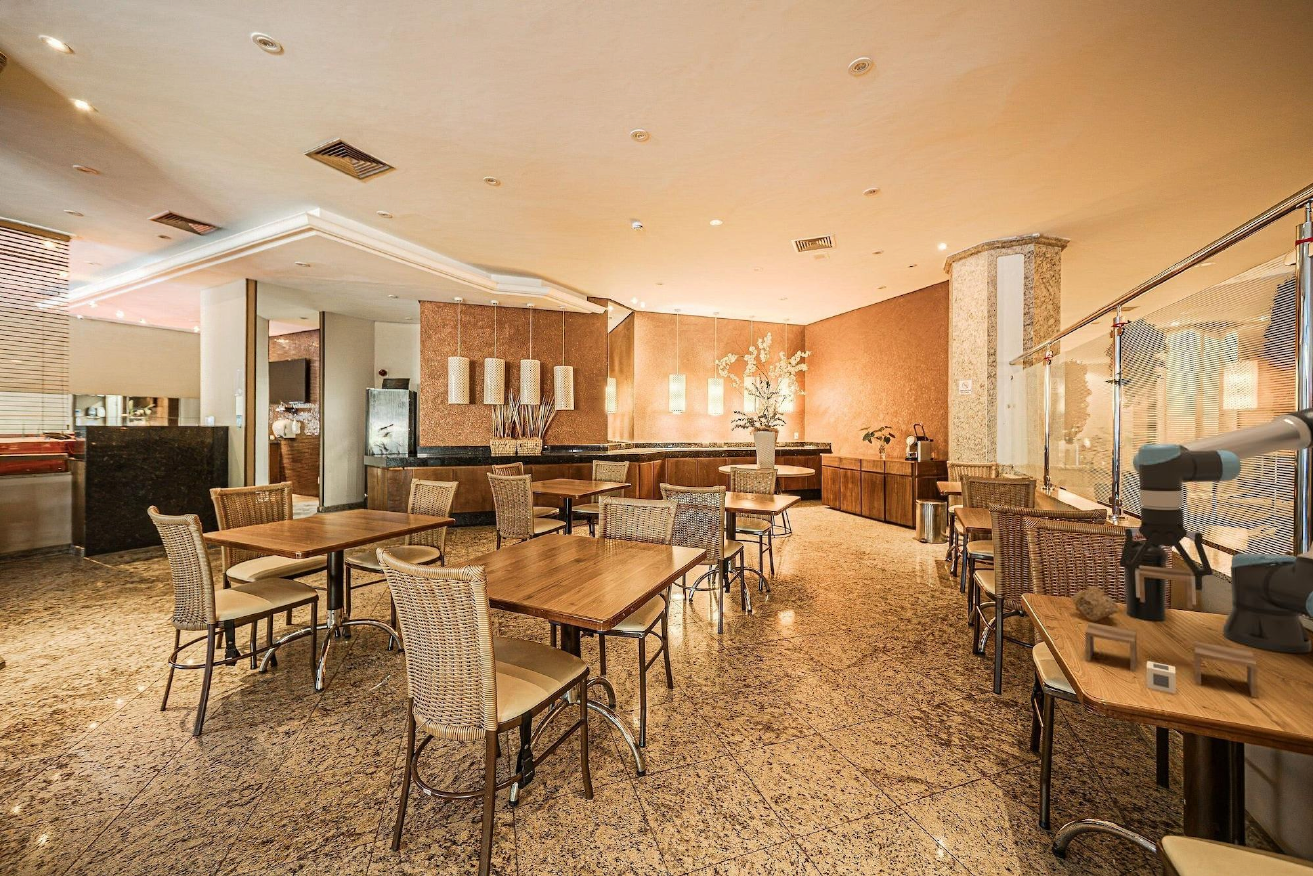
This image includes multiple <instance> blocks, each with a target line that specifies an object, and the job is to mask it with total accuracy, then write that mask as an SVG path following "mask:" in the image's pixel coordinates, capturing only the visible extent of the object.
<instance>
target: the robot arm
mask: <svg viewBox="0 0 1313 876" xmlns="http://www.w3.org/2000/svg"><path fill="white" fill-rule="evenodd" d="M1312 448H1313V406H1311V407H1307V408H1303V409H1300V410H1295V411H1292V412H1290V413H1286V414H1284V413H1283V414H1281V415H1278V416H1276V417H1274V418H1273V419H1272V420H1271V421H1270V422H1265V423H1259V424H1257V425H1253V426H1250V427H1249V426H1248V427H1245V428H1240V429H1237V430H1232V431H1228V432H1224V433H1221V434H1216V435H1212V436H1209V437H1204V438H1200V439H1196V440H1191V441H1188V442H1183V443H1181V444H1180V443H1179V444H1176V443H1175V444H1174V443H1158V444H1153V443H1152V444H1144V445H1141V446H1140V447H1139V448H1138V452H1137V453H1136V454H1135V455H1134V457H1133V459H1132V465H1133V469H1134V470H1135V471H1136V472H1137V474H1138V480H1139V481H1138V482H1139V504H1140V505H1141V506H1143V507H1141V508H1140V525H1139V527H1130V526H1126V527H1125V530H1124V532H1125V541H1124V545H1123V547H1122V549H1123V552H1122V551H1121V556H1120V560H1119V564H1118V565H1119V566H1120V567H1121V568H1124V567H1125V568H1127V569H1129V580H1130V582H1131V583H1136V597H1139V598H1140V582H1139V569H1136V567H1137V566H1138V564H1139V563H1140V561H1141V560H1142V558H1143V557H1144V556H1145V554H1146V553H1147V551H1148V550H1149V548H1150V547H1151V546H1152V544H1153V545H1156V546H1160V547H1161V546H1164V547H1170V548H1171V547H1174V549H1176V551H1177V552H1178V553H1179V555H1180V557H1181V558H1182V559H1183V560H1184V563H1186V565H1187V567H1188V568H1189V569H1190V571H1191V572H1192V573H1193V574H1192V573H1190V576H1191V584H1192V605H1197V594H1196V592H1197V591H1202V589H1203V577H1205V576H1212V575H1213V570H1212V567H1211V565H1210V563H1209V559H1208V557H1207V554H1206V551H1205V549H1204V546H1203V533H1202V532H1201V531H1198V530H1197V531H1189V530H1187V529H1186V528H1185V525H1184V510H1182V509H1183V508H1181V507H1183V483H1204V482H1205V483H1206V482H1207V483H1210V482H1214V483H1220V482H1229V481H1232V480H1234V479H1236V478H1237V477H1238V476H1239V475H1240V473H1241V471H1242V468H1241V467H1242V466H1241V465H1242V463H1241V460H1246V459H1250V458H1254V457H1258V456H1263V455H1267V454H1270V453H1274V452H1279V451H1283V450H1287V451H1293V452H1294V451H1301V450H1306V449H1312ZM1137 534H1140V535H1142V537H1143V538H1145V540H1146V541H1145V542H1144V544H1143V545H1142V547H1141V548H1140V550H1139V551H1138V553H1137V554H1136V556H1135V557H1134V559H1133V560H1132V562H1131V563H1128V562H1127V558H1128V555H1129V551H1130V547H1131V544H1132V540H1134V539H1133V538H1135V537H1136V536H1137ZM1186 536H1187V537H1188V538H1189V540H1190V541H1192V542H1193V543H1194V546H1195V550H1196V552H1197V555H1198V557H1199V559H1200V562H1201V565H1202V567H1203V568H1202V569H1199V567H1198V566H1197V564H1196V563H1195V562H1194V561H1193V559H1192V558H1191V556H1190V555H1189V553H1188V552H1187V551H1186V549H1185V548H1184V546H1183V544H1182V543H1181V541H1182V540H1183V539H1184V538H1185V537H1186ZM1230 575H1231V576H1230V579H1231V599H1232V601H1231V602H1232V603H1231V604H1232V605H1231V606H1232V607H1231V610H1230V612H1229V614H1228V616H1227V619H1226V621H1225V623H1224V624H1223V630H1222V631H1223V633H1222V634H1223V636H1224V637H1225V638H1226V639H1228V640H1230V641H1233V642H1236V643H1238V644H1241V645H1245V646H1249V647H1251V648H1252V647H1253V648H1256V649H1261V650H1266V651H1273V652H1280V653H1288V654H1305V653H1310V652H1311V651H1312V642H1311V639H1310V637H1309V634H1308V632H1307V630H1306V628H1305V627H1304V623H1303V622H1302V621H1301V617H1300V615H1303V616H1306V617H1309V618H1312V619H1313V541H1312V543H1311V545H1310V548H1309V550H1308V551H1307V552H1303V553H1300V554H1297V556H1294V555H1288V554H1275V553H1274V554H1273V553H1237V554H1234V555H1233V556H1232V557H1231V566H1230ZM1196 590H1197V591H1196Z"/></svg>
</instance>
